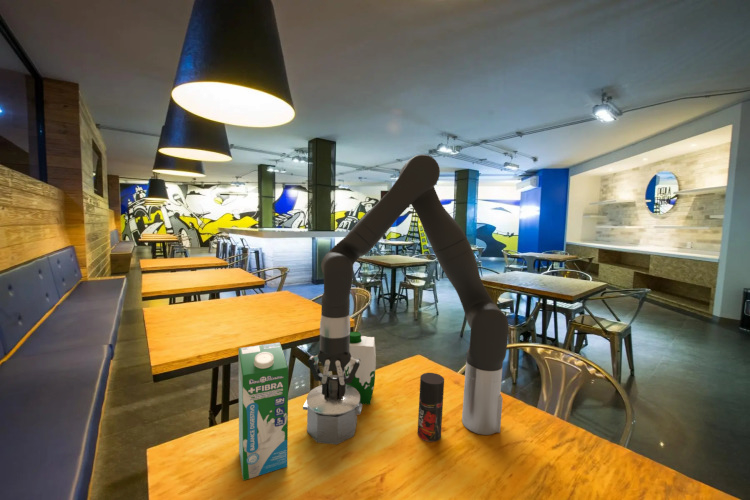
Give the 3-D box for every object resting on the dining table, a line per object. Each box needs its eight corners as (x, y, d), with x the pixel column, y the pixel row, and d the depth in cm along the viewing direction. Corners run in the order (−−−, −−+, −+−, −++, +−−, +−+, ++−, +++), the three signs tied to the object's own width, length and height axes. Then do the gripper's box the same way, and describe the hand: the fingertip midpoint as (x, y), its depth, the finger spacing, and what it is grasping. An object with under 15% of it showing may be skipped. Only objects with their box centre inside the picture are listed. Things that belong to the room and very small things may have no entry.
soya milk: (346, 389, 103) (348, 328, 101) (374, 390, 103) (376, 329, 101) (342, 405, 94) (344, 338, 92) (373, 406, 94) (376, 340, 92)
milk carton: (243, 481, 66) (242, 364, 64) (239, 452, 74) (238, 347, 72) (287, 467, 71) (288, 356, 68) (279, 441, 79) (279, 341, 76)
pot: (363, 416, 90) (364, 392, 89) (357, 446, 78) (358, 418, 77) (311, 411, 91) (311, 387, 90) (297, 440, 79) (297, 413, 78)
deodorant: (445, 434, 83) (448, 378, 82) (432, 445, 79) (435, 386, 77) (426, 423, 87) (428, 370, 86) (412, 433, 83) (415, 378, 81)
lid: (363, 387, 90) (363, 367, 89) (355, 417, 76) (356, 394, 76) (314, 384, 91) (315, 364, 90) (299, 412, 77) (299, 389, 77)
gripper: (364, 328, 85) (362, 390, 87) (311, 324, 86) (311, 386, 88) (360, 338, 77) (358, 407, 79) (303, 334, 79) (302, 402, 80)
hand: (333, 395), depth 83 cm, fingers closed on lid, 3 cm apart
